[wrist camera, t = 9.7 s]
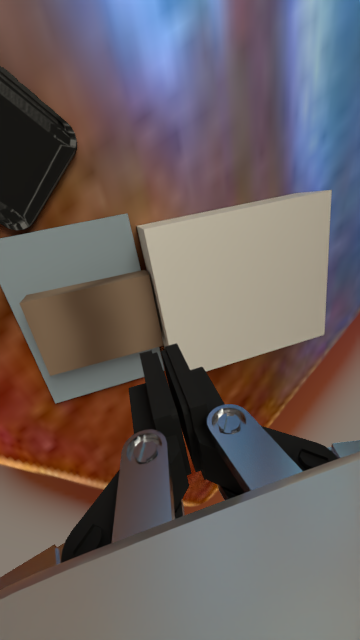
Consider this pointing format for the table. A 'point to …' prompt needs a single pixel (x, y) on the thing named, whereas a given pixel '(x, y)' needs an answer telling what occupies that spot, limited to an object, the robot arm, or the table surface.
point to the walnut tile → (93, 321)
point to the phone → (29, 152)
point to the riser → (240, 277)
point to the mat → (65, 270)
